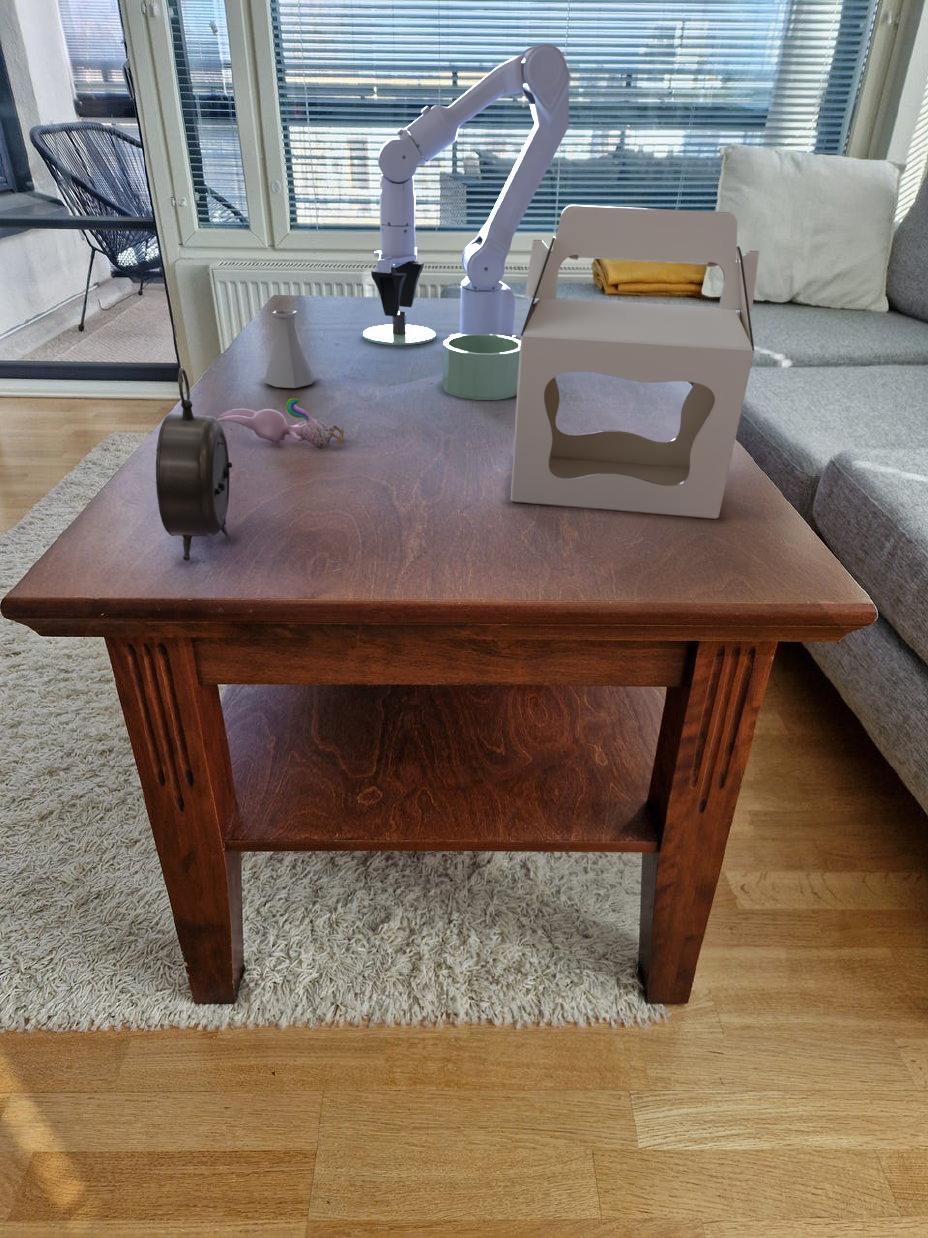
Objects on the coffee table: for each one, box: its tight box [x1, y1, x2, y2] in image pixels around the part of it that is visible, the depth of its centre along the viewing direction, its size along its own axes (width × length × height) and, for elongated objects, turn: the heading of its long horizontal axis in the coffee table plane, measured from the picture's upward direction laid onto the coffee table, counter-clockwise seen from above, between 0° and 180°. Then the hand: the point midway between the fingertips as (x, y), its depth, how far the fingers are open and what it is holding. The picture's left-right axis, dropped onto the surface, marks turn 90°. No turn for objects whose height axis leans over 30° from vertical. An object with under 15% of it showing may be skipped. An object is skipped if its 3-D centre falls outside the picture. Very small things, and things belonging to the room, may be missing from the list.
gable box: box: [510, 204, 760, 520], centre depth 85 cm, size 22×13×28 cm, turn 82°
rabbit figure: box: [216, 397, 345, 449], centre depth 99 cm, size 6×6×15 cm
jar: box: [442, 334, 520, 401], centre depth 120 cm, size 12×12×6 cm
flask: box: [263, 308, 317, 389], centre depth 119 cm, size 7×7×10 cm
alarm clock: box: [155, 367, 233, 562], centre depth 74 cm, size 11×5×16 cm, turn 5°
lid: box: [362, 310, 436, 346], centre depth 143 cm, size 13×13×4 cm
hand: (398, 310), depth 142 cm, fingers open, 7 cm apart
